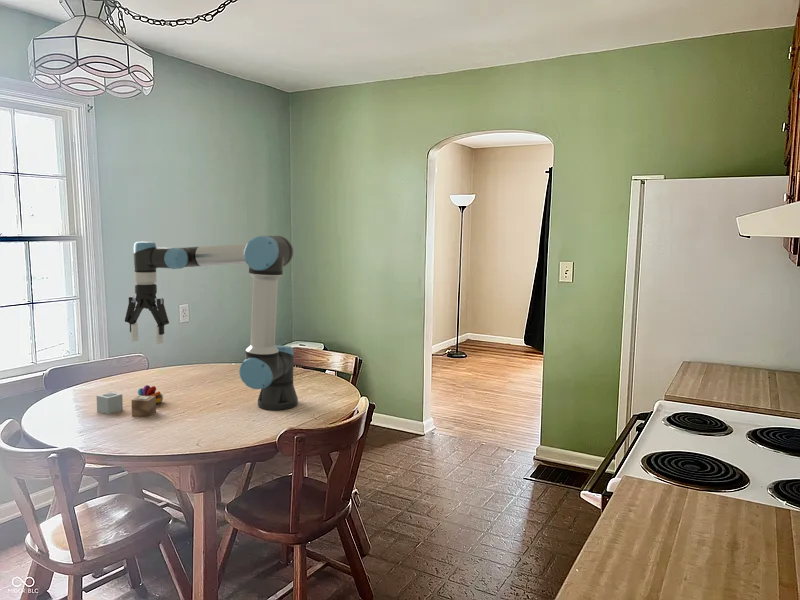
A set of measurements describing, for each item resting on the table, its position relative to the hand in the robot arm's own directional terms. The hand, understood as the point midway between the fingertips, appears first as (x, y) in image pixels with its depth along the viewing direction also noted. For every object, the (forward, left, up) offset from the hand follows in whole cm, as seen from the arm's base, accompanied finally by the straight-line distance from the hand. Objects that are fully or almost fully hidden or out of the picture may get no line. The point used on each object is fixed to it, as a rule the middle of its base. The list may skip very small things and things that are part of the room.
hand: (147, 342), depth 222 cm
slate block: (+7, +12, -24) cm, 28 cm away
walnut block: (-7, +11, -24) cm, 27 cm away
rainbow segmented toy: (0, 0, -24) cm, 24 cm away
